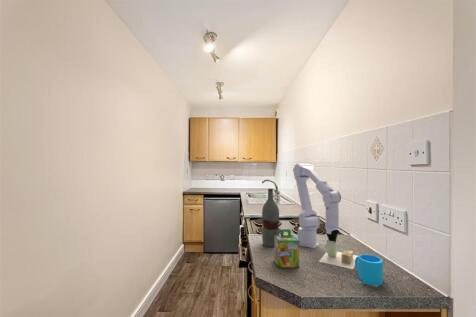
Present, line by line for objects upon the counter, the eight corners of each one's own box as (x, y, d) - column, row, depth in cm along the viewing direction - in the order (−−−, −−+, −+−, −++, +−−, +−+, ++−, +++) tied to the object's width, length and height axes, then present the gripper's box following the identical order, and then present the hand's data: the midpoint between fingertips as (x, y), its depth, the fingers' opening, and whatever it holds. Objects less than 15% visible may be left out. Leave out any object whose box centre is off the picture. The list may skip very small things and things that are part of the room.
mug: (388, 284, 90) (388, 261, 90) (370, 287, 88) (369, 264, 88) (363, 270, 101) (363, 250, 102) (347, 272, 99) (346, 252, 100)
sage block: (327, 255, 116) (325, 246, 112) (329, 249, 118) (326, 240, 114) (335, 257, 114) (333, 248, 110) (337, 250, 116) (335, 241, 112)
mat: (318, 262, 109) (318, 261, 109) (328, 251, 123) (328, 250, 123) (353, 270, 101) (353, 269, 101) (359, 257, 115) (359, 255, 115)
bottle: (260, 246, 130) (260, 189, 130) (263, 241, 139) (263, 187, 139) (278, 247, 128) (278, 190, 128) (280, 242, 136) (279, 188, 137)
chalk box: (278, 268, 103) (277, 233, 103) (273, 259, 112) (273, 227, 112) (299, 268, 104) (299, 232, 104) (293, 259, 113) (293, 227, 113)
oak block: (344, 257, 113) (341, 262, 108) (344, 249, 113) (341, 254, 108) (353, 259, 111) (350, 264, 105) (353, 251, 111) (350, 256, 106)
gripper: (337, 220, 107) (338, 252, 107) (344, 214, 119) (344, 243, 119) (321, 218, 111) (321, 249, 111) (329, 213, 123) (329, 240, 123)
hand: (332, 245), depth 115 cm, fingers closed, pressing on sage block
